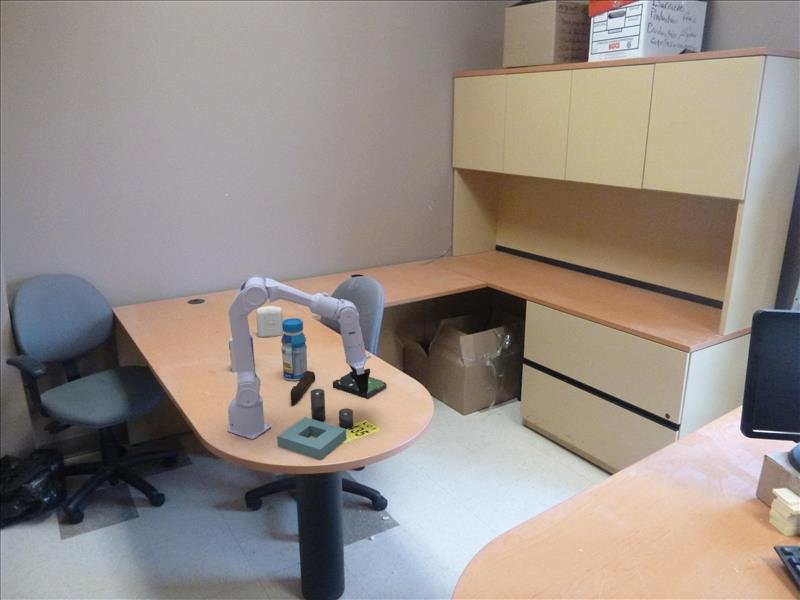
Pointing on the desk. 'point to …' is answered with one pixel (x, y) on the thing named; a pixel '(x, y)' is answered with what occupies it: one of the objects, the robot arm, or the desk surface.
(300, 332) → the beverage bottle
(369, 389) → the disk drive
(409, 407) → the desk surface
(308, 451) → the hole block
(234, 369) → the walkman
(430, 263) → the desk surface
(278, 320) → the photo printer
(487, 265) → the desk surface
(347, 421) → the short pin
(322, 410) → the tall pin
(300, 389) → the hand tool
